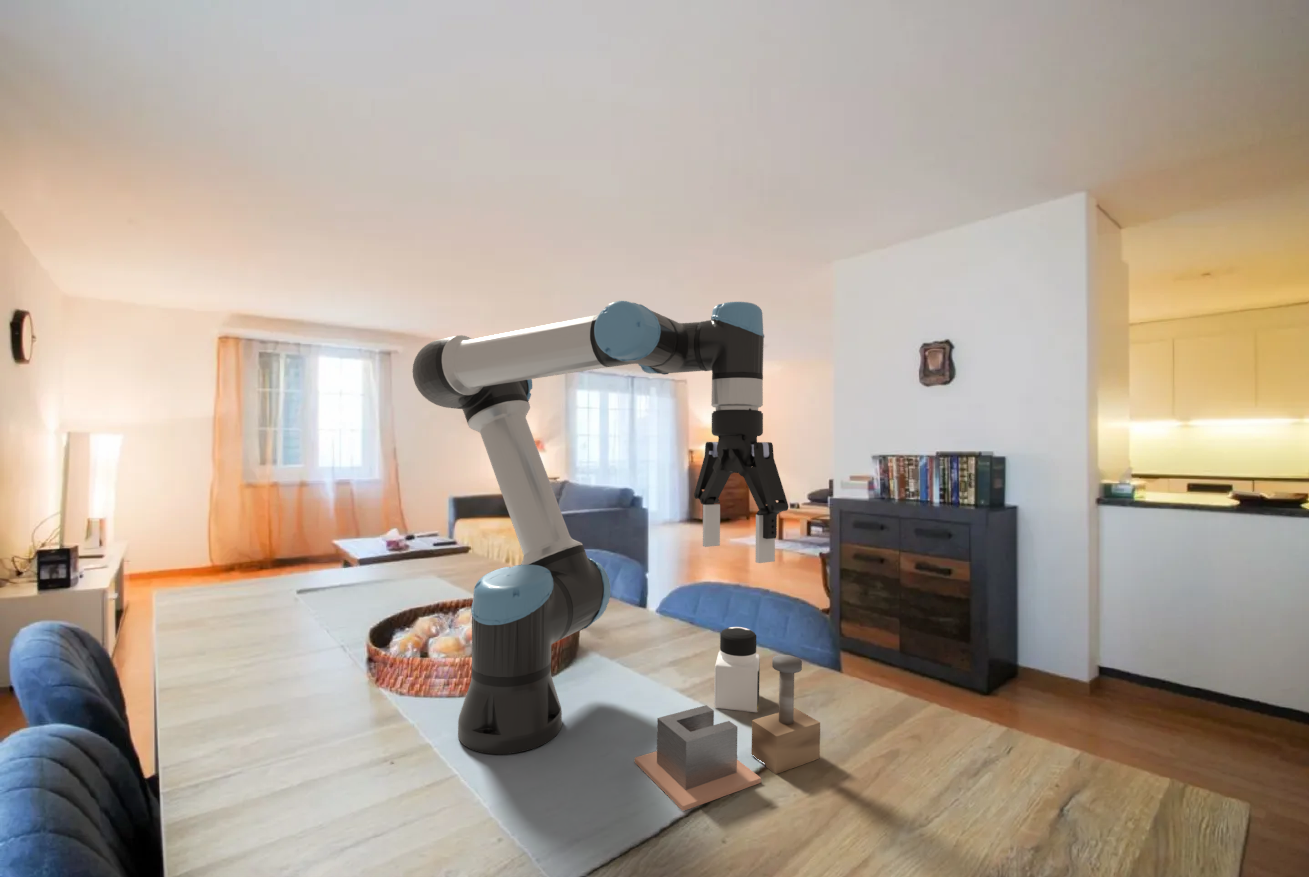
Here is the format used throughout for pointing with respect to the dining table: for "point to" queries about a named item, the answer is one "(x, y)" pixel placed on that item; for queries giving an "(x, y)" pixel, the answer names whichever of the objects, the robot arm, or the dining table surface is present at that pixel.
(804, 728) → the knob on wooden block
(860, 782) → the dining table surface
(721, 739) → the c link
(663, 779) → the tile
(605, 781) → the dining table surface
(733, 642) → the medicine bottle
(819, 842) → the dining table surface
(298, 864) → the dining table surface
